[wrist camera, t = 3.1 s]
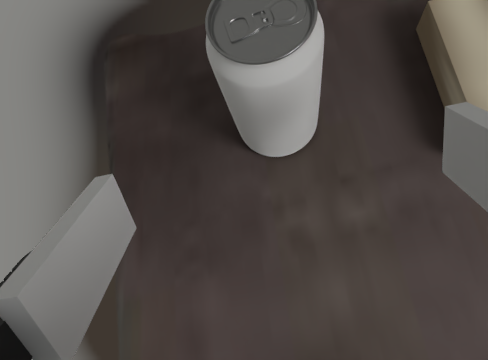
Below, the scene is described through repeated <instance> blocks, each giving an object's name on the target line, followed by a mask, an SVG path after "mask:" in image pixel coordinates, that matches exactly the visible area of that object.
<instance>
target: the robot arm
mask: <svg viewBox="0 0 488 360" xmlns="http://www.w3.org/2000/svg"><path fill="white" fill-rule="evenodd" d="M442 172H443V173H444V174H445V175H446V176H447V177H449V178H450V179H451V180H452V181H453V182H454V183H455V184H456V185H458V186H459V187H460V188H461V189H462V190H463V191H464V192H466V193H467V194H468V195H469V196H470V197H471V198H472V199H473V200H475V201H476V202H477V203H478V204H479V205H480V206H481V207H483V208H484V209H485V210H486V211H487V212H488V111H485V110H483V109H481V108H479V107H477V106H475V105H472V104H470V103H468V102H464V103H459V104H454V105H449V106H445V118H444V140H443V162H442ZM135 230H136V226H135V223H134V221H133V219H132V217H131V214H130V212H129V210H128V208H127V205H126V203H125V201H124V199H123V196H122V194H121V192H120V189H119V187H118V185H117V183H116V180H115V178H114V176H113V174H109V175H104V176H99V177H95V178H94V179H93V181H92V182H91V183H90V184H89V185H88V186H87V188H86V189H85V190H84V191H83V192H82V193H81V194H80V196H79V197H78V198H77V199H76V200H75V202H74V203H73V204H72V205H71V206H70V207H69V209H67V211H66V212H65V213H64V214H63V215H62V216H61V218H60V219H59V220H58V221H57V222H56V224H55V225H54V226H53V227H52V228H51V229H50V230H49V232H48V233H47V234H46V235H45V236H44V237H43V239H42V240H41V241H40V242H39V243H38V244H37V246H36V247H35V248H34V249H33V250H32V251H31V252H29V253H28V254H27V255H26V256H24V257H23V258H22V259H21V260H20V261H19V262H18V263H17V265H16V266H15V267H14V268H13V269H12V272H10V273H9V274H8V275H7V276H6V277H5V278H4V281H3V282H1V283H0V360H31V359H33V360H72V359H73V357H74V355H75V353H76V351H77V349H78V347H79V345H80V343H81V341H82V339H83V337H84V334H85V332H86V330H87V328H88V326H89V324H90V322H91V320H92V318H93V316H94V314H95V312H96V310H97V308H98V305H99V304H100V302H101V300H102V298H103V295H104V293H105V291H106V289H107V287H108V285H109V283H110V281H111V279H112V277H113V275H114V273H115V271H116V269H117V267H118V265H119V263H120V261H121V259H122V257H123V255H124V252H125V250H126V248H127V246H128V244H129V242H130V240H131V238H132V236H133V234H134V232H135Z"/></svg>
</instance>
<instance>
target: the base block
mask: <svg viewBox="0 0 488 360" xmlns="http://www.w3.org/2000/svg"><path fill="white" fill-rule="evenodd" d="M416 31H417V34H418V37H419V39H420V42H421V45H422V48H423V50H424V53H425V56H426V59H427V61H428V64H429V67H430V70H431V72H432V75H433V78H434V81H435V84H436V86H437V89H438V92H439V95H440V97H441V100H442V103H443V106H444V108H445V106H449V105H454V104H459V103H464V102H468V103H470V104H472V105H475V106H477V107H479V108H481V109H483V110H485V111H488V0H432V1H428V3H427V5H426V7H425V10H424V12H423V14H422V16H421V19H420V21H419V23H418V26H417V28H416Z"/></svg>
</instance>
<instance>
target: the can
mask: <svg viewBox="0 0 488 360" xmlns="http://www.w3.org/2000/svg"><path fill="white" fill-rule="evenodd" d="M205 28H206V33H207V35H206V51H207V55H208V59H209V62H210V65H211V67H212V70H213V72H214V75H215V77H216V80H217V82H218V84H219V87H220V89H221V91H222V94H223V96H224V99H225V101H226V103H227V106H228V108H229V110H230V113H231V115H232V117H233V120H234V122H235V124H236V126H237V129H238V131H239V133H240V135H241V137H242V139H243V141H244V142H245V143H246V144H247V145H248V146H249V147H250V148H251V149H252V150H254V151H255V152H257V153H259V154H262V155H265V156H270V157H281V156H286V155H290V154H292V153H295V152H297V151H298V150H300V149H301V148H303V147H304V146H305V145H306V144H307V143H308V142H309V141H310V139H311V138H312V136H313V135H314V132H315V130H316V126H317V121H318V112H319V101H320V89H321V77H322V64H323V50H324V26H323V21H322V18H321V16H320V13H319V11H318V9H317V2H316V0H212V1H211V3H210V5H209V7H208V10H207V13H206V19H205Z"/></svg>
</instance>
